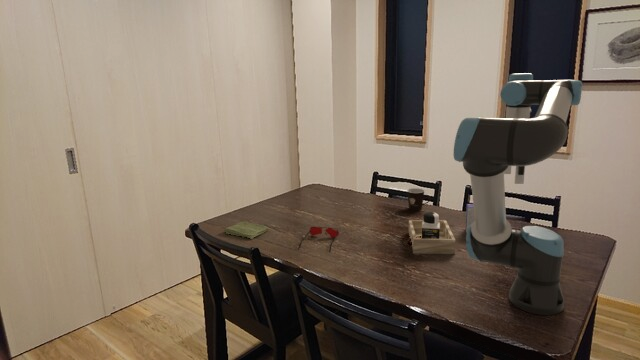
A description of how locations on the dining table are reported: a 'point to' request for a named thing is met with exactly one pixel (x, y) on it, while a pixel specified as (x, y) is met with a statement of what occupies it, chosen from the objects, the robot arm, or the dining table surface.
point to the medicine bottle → (431, 226)
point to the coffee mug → (416, 199)
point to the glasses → (319, 231)
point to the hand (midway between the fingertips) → (512, 178)
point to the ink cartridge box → (469, 215)
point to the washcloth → (246, 229)
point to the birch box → (431, 245)
